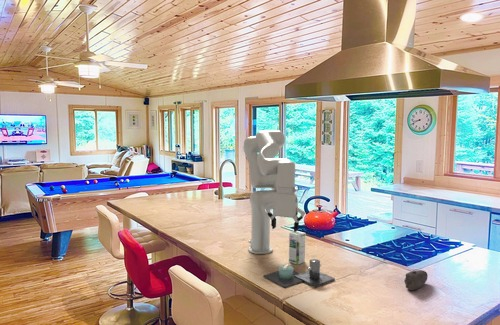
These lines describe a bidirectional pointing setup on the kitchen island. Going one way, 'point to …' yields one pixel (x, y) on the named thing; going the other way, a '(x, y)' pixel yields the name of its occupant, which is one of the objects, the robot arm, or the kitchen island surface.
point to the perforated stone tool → (415, 279)
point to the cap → (286, 272)
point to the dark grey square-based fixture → (314, 275)
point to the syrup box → (296, 247)
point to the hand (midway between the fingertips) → (284, 229)
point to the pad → (284, 283)
